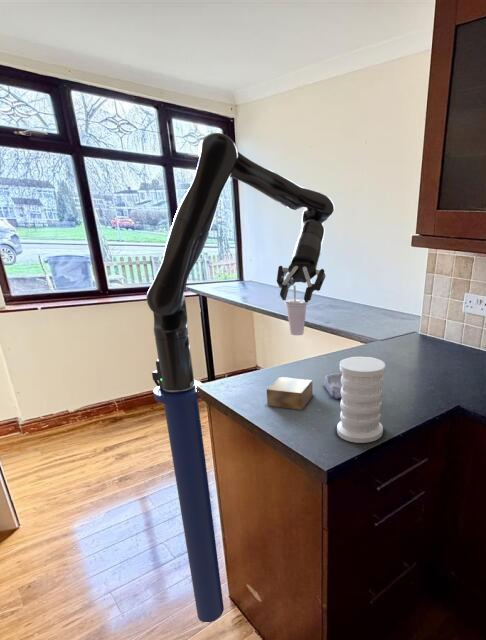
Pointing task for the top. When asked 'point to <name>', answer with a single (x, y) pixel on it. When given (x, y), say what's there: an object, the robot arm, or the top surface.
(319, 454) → the top surface
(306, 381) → the oak block
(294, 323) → the smoothie
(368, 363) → the decorative container
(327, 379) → the stone block
